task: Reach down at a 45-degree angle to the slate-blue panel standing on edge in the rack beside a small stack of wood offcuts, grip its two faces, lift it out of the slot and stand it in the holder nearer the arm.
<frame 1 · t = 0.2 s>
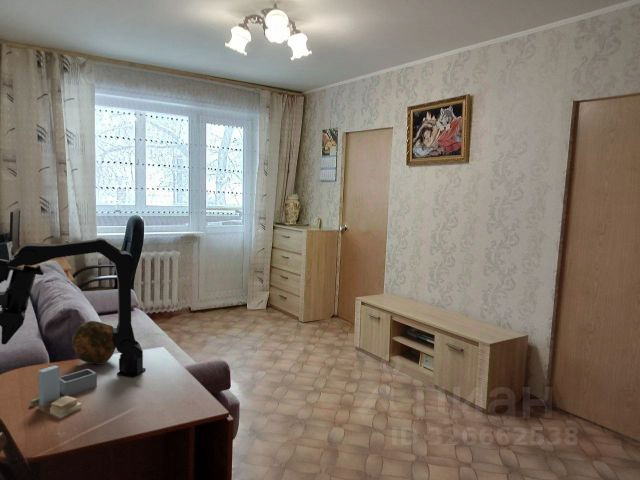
hand: (5, 338, 133), 16 cm above the table, tool pointing down, fingers open, 9 cm apart
panel: (49, 403, 127), point 1 cm above the table, touching rack
rack: (49, 405, 127), on the table
holder: (77, 390, 137), on the table
rock: (95, 364, 157), on the table
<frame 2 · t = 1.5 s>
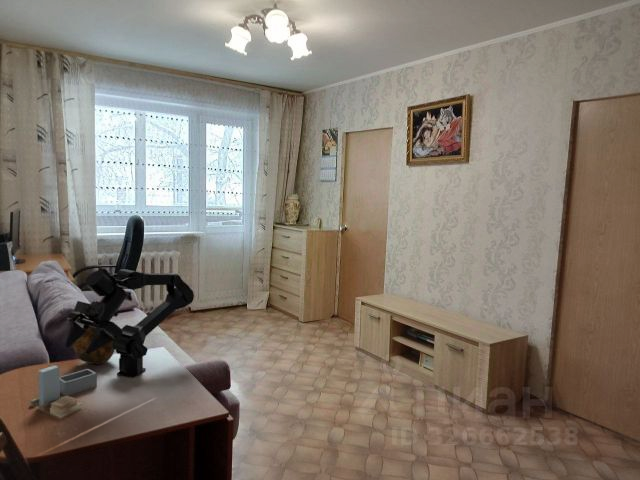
hand: (76, 350, 133), 13 cm above the table, tool tilted 45°, fingers open, 9 cm apart
nothing on the table moved.
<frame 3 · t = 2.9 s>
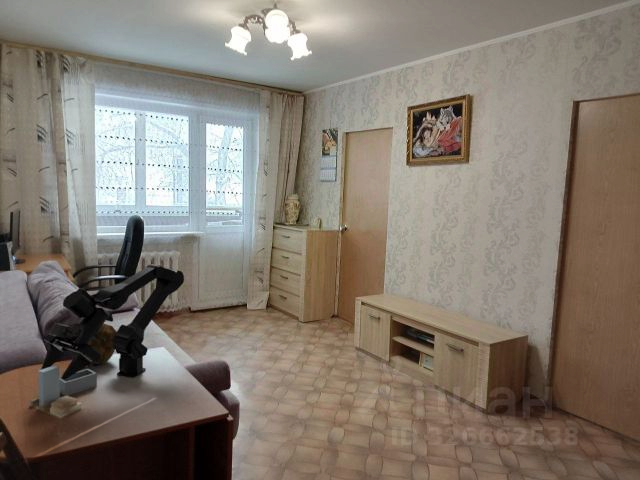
hand: (52, 375, 127), 8 cm above the table, tool tilted 45°, fingers open, 9 cm apart
nothing on the table moved.
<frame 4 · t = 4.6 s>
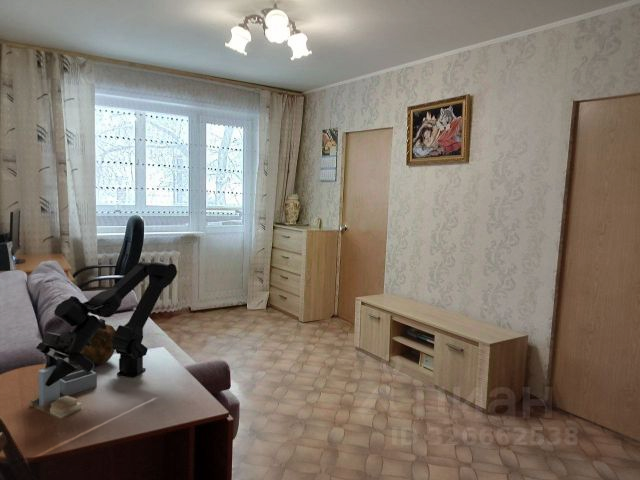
hand: (44, 384, 125), 7 cm above the table, tool tilted 45°, fingers closed on panel, 2 cm apart
panel: (49, 403, 127), point 1 cm above the table, touching gripper, rack
everything else where it was.
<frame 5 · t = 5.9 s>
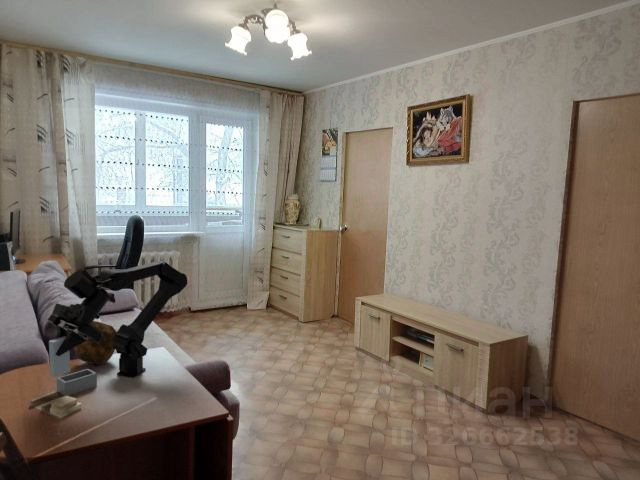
hand: (54, 354, 128), 14 cm above the table, tool tilted 45°, fingers closed on panel
panel: (60, 373, 130), point 8 cm above the table, touching gripper
everything else where it was.
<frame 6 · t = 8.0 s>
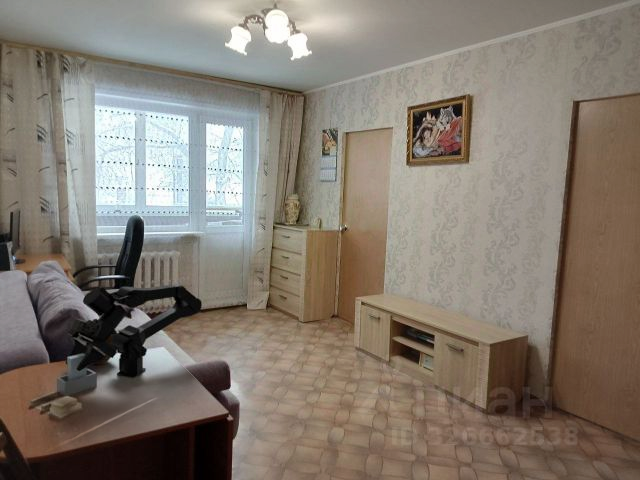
hand: (72, 367, 135), 8 cm above the table, tool tilted 45°, fingers open, 6 cm apart
panel: (77, 388, 137), point 1 cm above the table, touching holder
everything else where it was.
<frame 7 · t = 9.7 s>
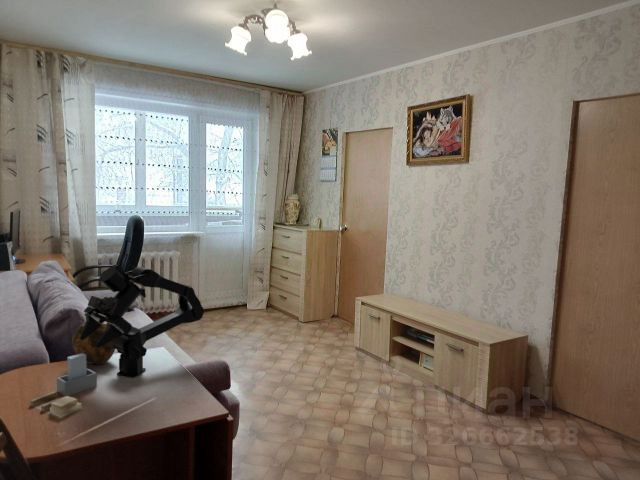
hand: (88, 343, 138), 14 cm above the table, tool tilted 45°, fingers open, 9 cm apart
nothing on the table moved.
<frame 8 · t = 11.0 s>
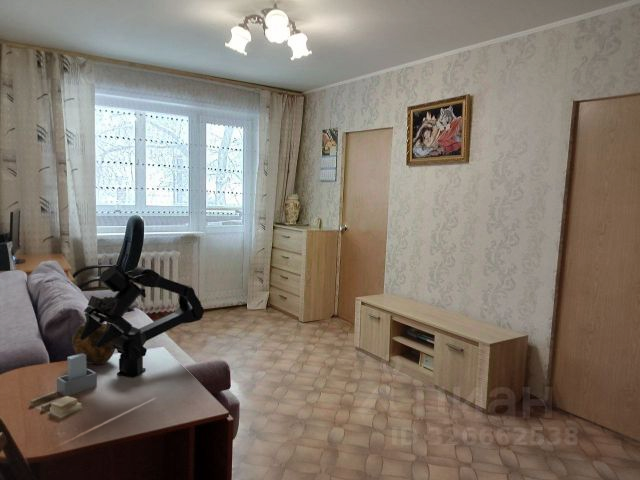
hand: (88, 343, 138), 14 cm above the table, tool tilted 45°, fingers open, 9 cm apart
nothing on the table moved.
at the end: panel inside the target area on the holder (0.0 cm from its centre), point 0.6 cm above the holder's base; the gripper is holding nothing; panel moved 10.0 cm from its start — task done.
